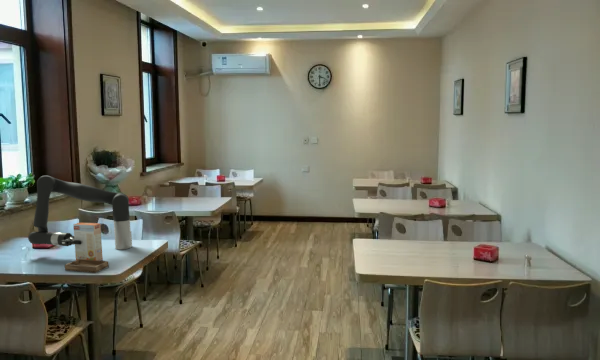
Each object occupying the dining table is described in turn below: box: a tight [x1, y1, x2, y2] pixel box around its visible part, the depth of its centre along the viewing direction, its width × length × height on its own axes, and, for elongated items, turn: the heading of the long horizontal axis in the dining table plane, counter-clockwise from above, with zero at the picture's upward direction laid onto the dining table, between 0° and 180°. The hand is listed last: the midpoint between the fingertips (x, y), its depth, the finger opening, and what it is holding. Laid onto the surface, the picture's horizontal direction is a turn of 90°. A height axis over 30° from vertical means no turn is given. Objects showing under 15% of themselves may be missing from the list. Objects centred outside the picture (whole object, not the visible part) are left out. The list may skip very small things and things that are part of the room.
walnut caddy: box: [64, 259, 109, 274], centre depth 265 cm, size 11×19×3 cm, turn 73°
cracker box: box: [72, 222, 104, 261], centre depth 280 cm, size 14×6×21 cm, turn 71°
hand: (85, 240), depth 281 cm, fingers open, 7 cm apart
